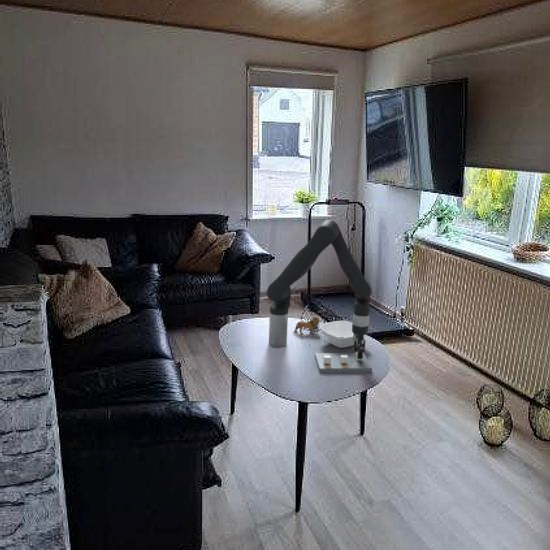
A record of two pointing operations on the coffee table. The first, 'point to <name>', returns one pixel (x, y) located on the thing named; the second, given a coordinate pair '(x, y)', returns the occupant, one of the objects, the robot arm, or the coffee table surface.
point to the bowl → (338, 333)
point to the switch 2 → (344, 359)
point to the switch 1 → (327, 359)
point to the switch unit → (337, 366)
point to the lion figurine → (307, 325)
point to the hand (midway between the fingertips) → (357, 354)
